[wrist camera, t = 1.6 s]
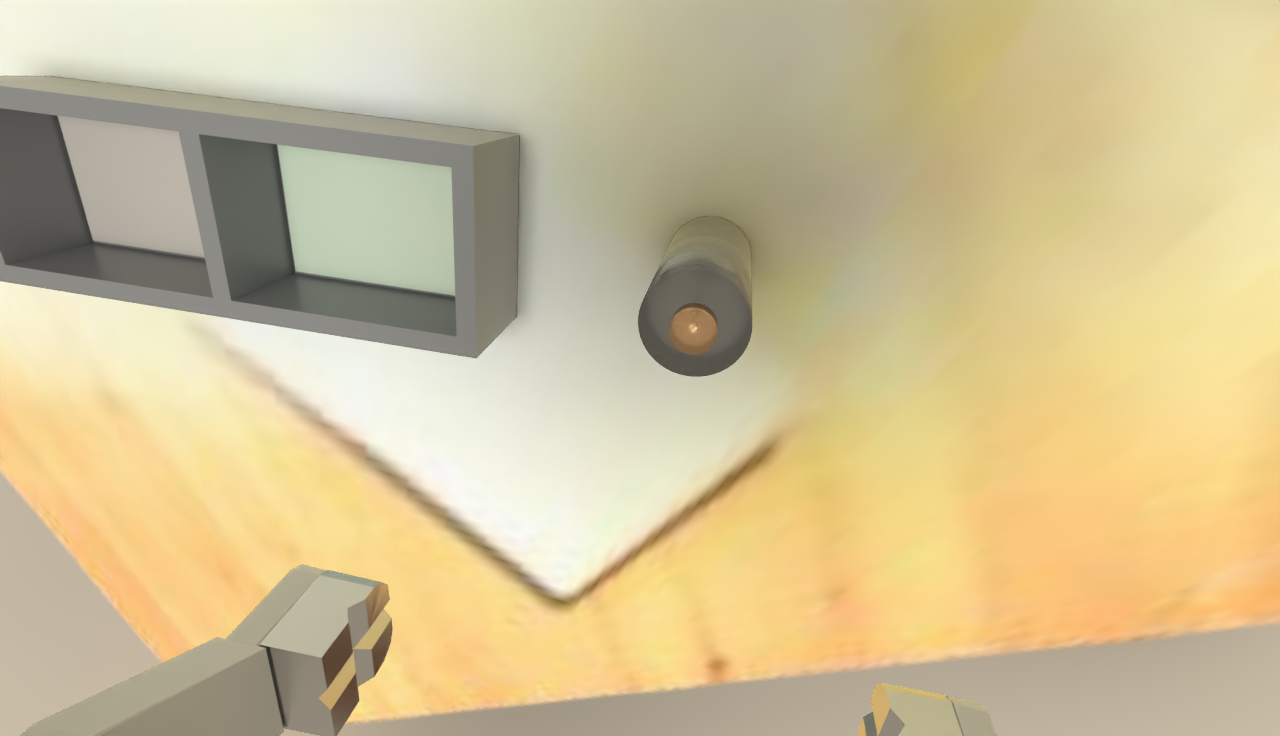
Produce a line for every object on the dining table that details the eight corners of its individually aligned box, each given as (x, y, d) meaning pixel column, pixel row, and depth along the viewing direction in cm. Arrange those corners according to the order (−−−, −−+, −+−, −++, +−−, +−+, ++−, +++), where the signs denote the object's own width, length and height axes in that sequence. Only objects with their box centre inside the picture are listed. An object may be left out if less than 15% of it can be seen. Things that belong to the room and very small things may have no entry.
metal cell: (673, 210, 32) (640, 267, 23) (758, 222, 32) (762, 285, 22) (663, 291, 34) (629, 375, 25) (743, 303, 34) (741, 393, 24)
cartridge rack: (49, 75, 35) (-80, 75, 29) (519, 134, 32) (473, 145, 27) (99, 252, 39) (-5, 280, 34) (516, 316, 36) (476, 358, 31)
